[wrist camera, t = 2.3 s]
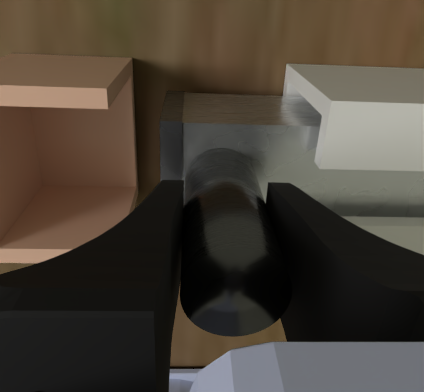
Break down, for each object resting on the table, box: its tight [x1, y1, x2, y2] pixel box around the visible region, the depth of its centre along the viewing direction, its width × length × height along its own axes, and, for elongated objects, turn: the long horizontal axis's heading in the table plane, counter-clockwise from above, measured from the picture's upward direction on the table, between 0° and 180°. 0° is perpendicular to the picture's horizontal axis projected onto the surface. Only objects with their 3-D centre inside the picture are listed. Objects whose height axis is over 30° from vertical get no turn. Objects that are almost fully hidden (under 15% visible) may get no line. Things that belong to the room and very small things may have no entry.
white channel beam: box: [283, 64, 424, 255], centre depth 16 cm, size 6×10×6 cm, turn 88°
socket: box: [0, 53, 138, 263], centre depth 15 cm, size 6×5×6 cm
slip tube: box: [160, 91, 424, 336], centre depth 13 cm, size 4×12×10 cm, turn 88°
